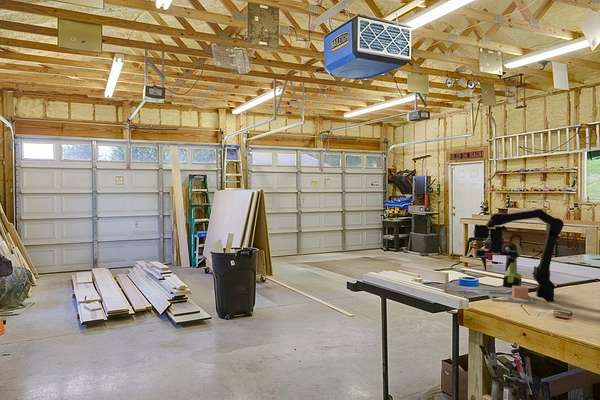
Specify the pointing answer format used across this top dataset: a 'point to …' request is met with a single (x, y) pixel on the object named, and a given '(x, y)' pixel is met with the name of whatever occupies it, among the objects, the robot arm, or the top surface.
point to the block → (520, 291)
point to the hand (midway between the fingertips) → (495, 270)
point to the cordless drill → (512, 267)
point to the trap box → (509, 296)
